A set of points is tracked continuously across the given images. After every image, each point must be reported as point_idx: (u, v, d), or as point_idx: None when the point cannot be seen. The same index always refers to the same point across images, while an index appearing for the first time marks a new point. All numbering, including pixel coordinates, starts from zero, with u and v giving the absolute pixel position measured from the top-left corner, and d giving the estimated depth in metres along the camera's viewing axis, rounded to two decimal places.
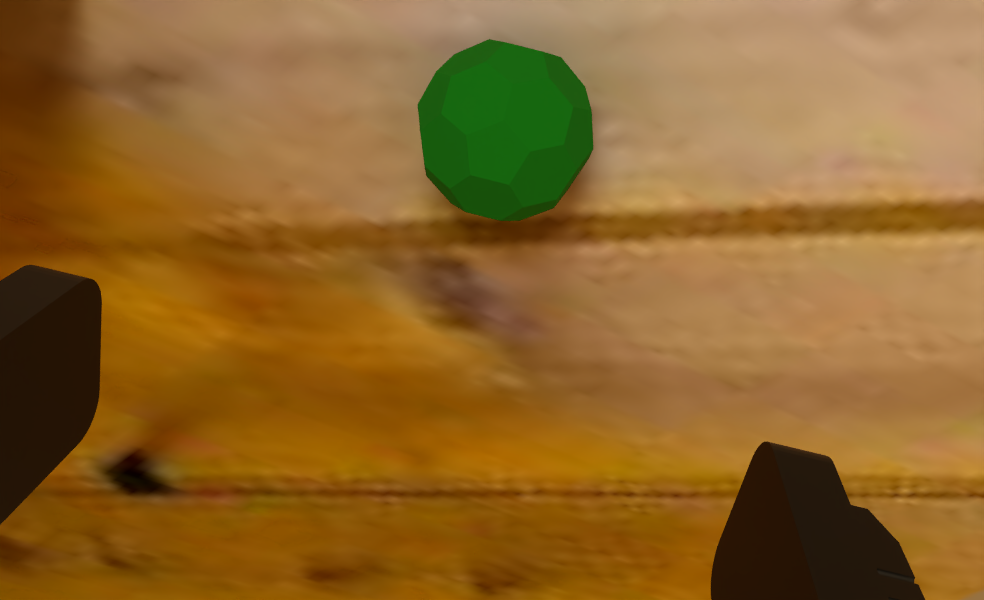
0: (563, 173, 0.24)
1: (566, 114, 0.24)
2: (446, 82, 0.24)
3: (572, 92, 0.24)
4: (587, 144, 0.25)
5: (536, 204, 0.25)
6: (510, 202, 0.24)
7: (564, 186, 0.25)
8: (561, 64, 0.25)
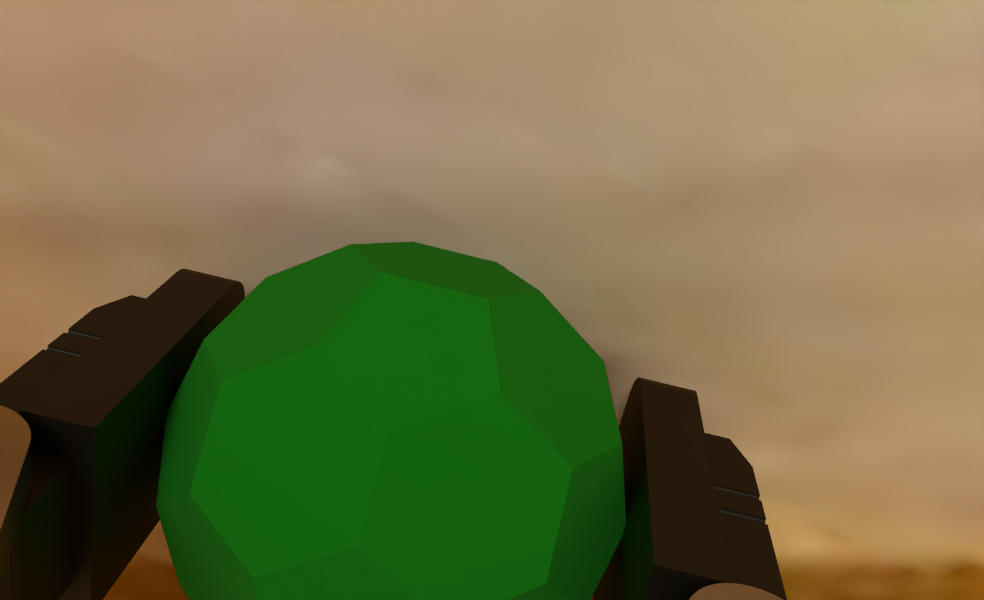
0: None
1: (554, 495, 0.08)
2: (213, 394, 0.08)
3: (569, 408, 0.09)
4: (611, 530, 0.09)
5: None
6: None
7: None
8: (540, 317, 0.09)
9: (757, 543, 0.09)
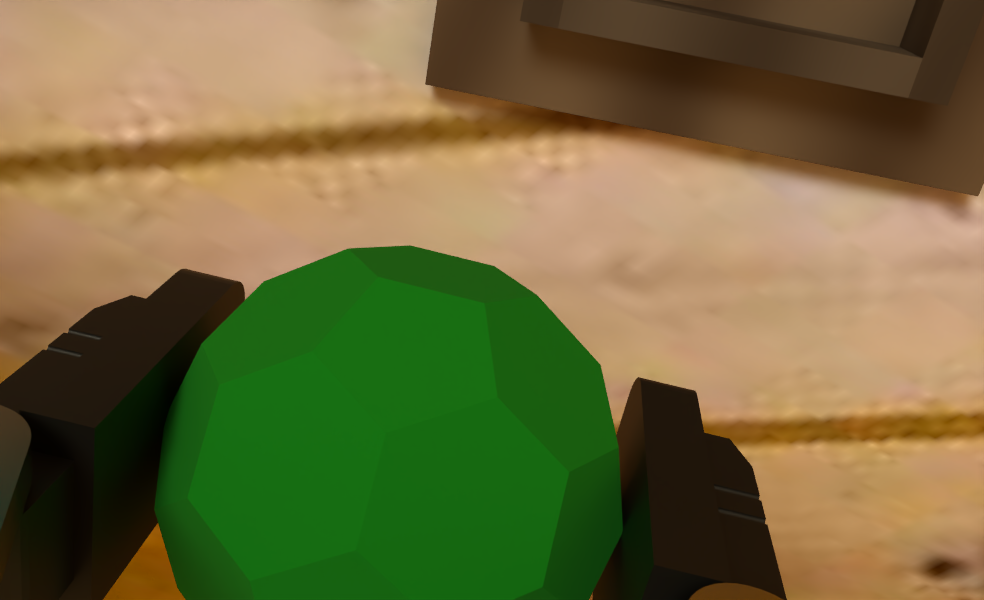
0: None
1: (549, 499, 0.08)
2: (209, 398, 0.08)
3: (566, 411, 0.09)
4: (608, 534, 0.09)
5: None
6: None
7: None
8: (537, 321, 0.09)
9: (757, 543, 0.09)
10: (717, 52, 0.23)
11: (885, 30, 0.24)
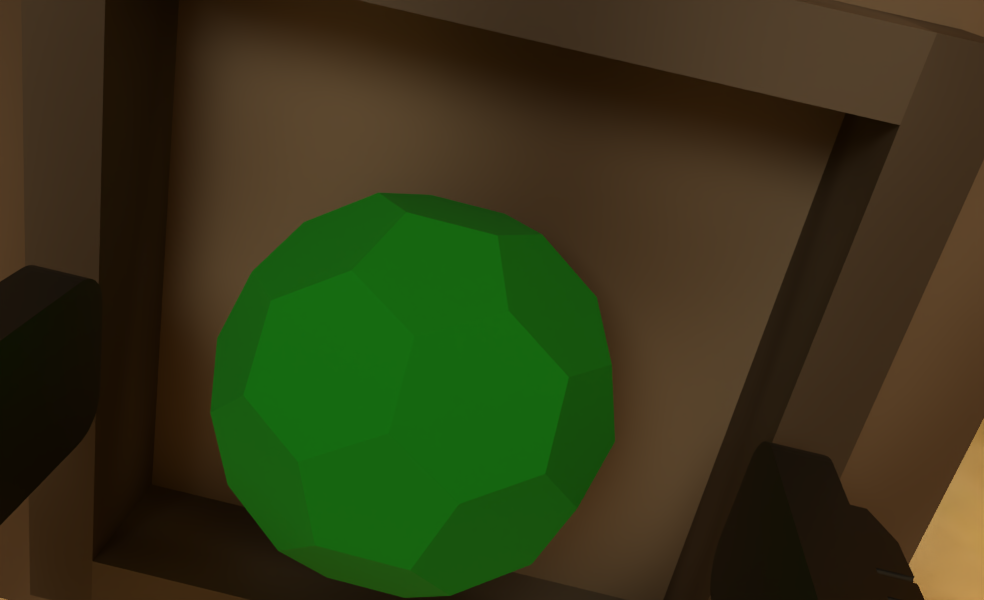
0: (544, 522, 0.10)
1: (552, 399, 0.10)
2: (262, 312, 0.10)
3: (566, 330, 0.10)
4: (602, 440, 0.11)
5: (483, 581, 0.11)
6: (420, 587, 0.10)
7: (548, 540, 0.11)
8: (542, 255, 0.11)
9: None
10: None
11: (637, 586, 0.15)
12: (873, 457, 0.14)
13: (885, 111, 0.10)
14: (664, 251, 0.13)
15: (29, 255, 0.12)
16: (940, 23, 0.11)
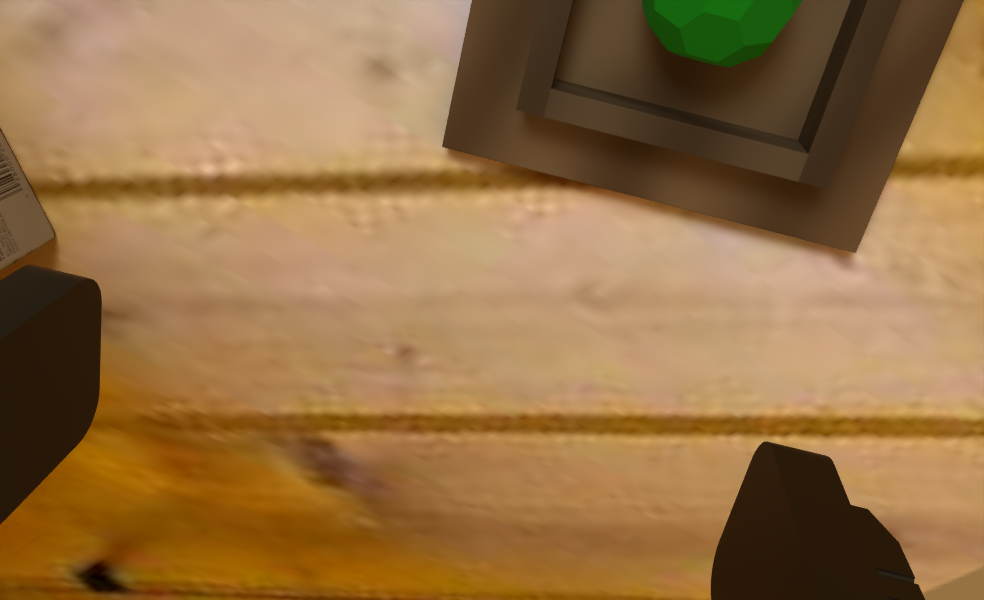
0: (782, 16, 0.27)
1: None
2: None
3: None
4: None
5: (755, 45, 0.28)
6: (733, 41, 0.27)
7: (780, 29, 0.28)
8: None
9: None
10: (660, 141, 0.31)
11: (787, 127, 0.32)
12: (902, 49, 0.31)
13: None
14: None
15: None
16: None
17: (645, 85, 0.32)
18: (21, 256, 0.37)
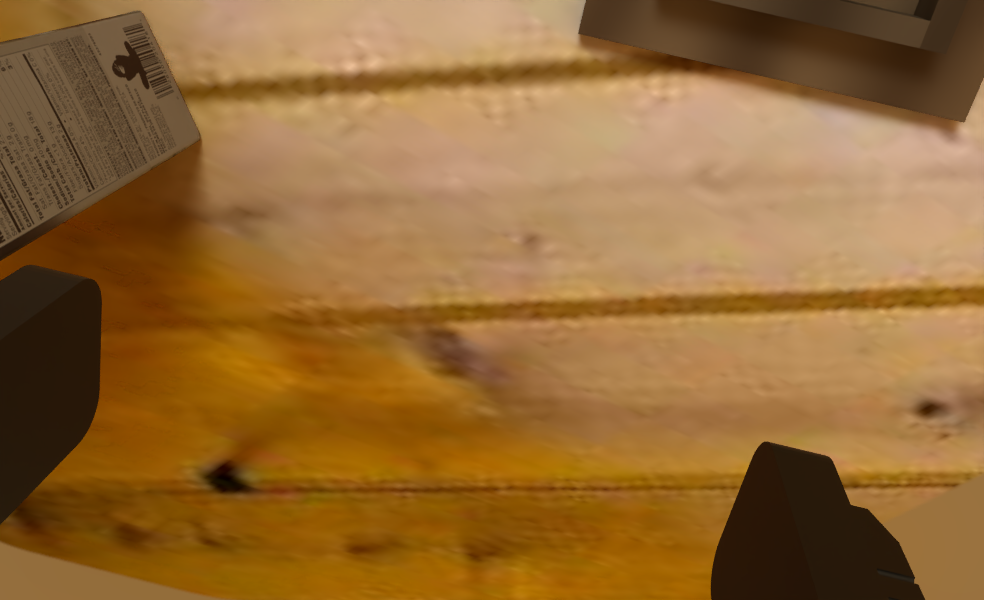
0: None
1: None
2: None
3: None
4: None
5: None
6: None
7: None
8: None
9: None
10: (792, 13, 0.34)
11: (904, 3, 0.35)
12: None
13: None
14: None
15: None
16: None
17: None
18: (178, 151, 0.39)
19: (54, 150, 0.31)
